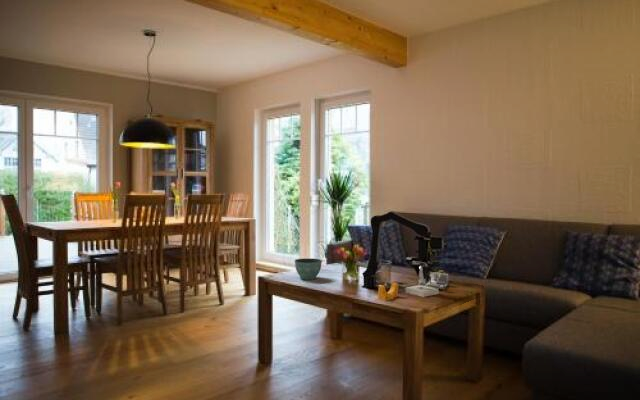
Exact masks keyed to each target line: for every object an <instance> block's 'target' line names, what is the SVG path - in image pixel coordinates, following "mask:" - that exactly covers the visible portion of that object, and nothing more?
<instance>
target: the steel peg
mask: <svg viewBox="0 0 640 400" xmlns="http://www.w3.org/2000/svg"><path fill="white" fill-rule="evenodd" d="M423 266H424V265H423V264H422V265H420V266H419V278H418V285H421V286H425V285H426V284H427V283H426V282H427V281H426V279H424V275H423Z"/></svg>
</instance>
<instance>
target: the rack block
mask: <svg viewBox="0 0 640 400" xmlns="http://www.w3.org/2000/svg"><path fill="white" fill-rule="evenodd" d="M405 293H407V294H411V295H415V296H419V297H422V298H425V297H429V296H435V295H439V289H438V288H432V287H428V286H421V285H419V284H418V285H417V286H412V287H406V291H405Z"/></svg>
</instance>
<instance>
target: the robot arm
mask: <svg viewBox="0 0 640 400" xmlns="http://www.w3.org/2000/svg"><path fill="white" fill-rule="evenodd" d="M390 220H392V221H394V222H396V223H399V224H400V225H403V226H404V227H407V228H409V229H411V230H412V231H413V232H414V233H416V236H415V237H414V238H413V240H414V241H415V240H416V241H417V249H416V250H415V253H416V254H417V255H416V256H408V257H407V256H406V259H405V263H408V264H411V266H412V268H413V269H414V271H415V273H416V276H417V278H418V279H419V266H420V265H423V264H425V266H423V275H424V279H426V278H427V275H428V273H429V270H430V269H431V268H432V269H433V268H434V269H435V268H440V267H441V262H440V261H439V260H436V256H435V255H433V254H430V251H429V247H430V248H431V249H435V250H441V251H443V248H444V243H443V241H444V237H443V236H434V235H433V234H432V232H431V228H430V226H429V225H428V224H424V223H422V222H418V221H414V220H411V219H409V218H407V217H405V216H403V215H401V214H399V213H396V212H395V211H393V210H392V211H389V212H388V213H385V214H381V215H380V214H378V215H374V216H372V217H371V218H370V228H371V230H372V232H371V246H370V256H369V259H368V263H367V266H366V269H365V270H364V271H363V272H362V277H363V284H362V285H361V288H365V289H369V290H371V289H376V288H378V287H379V286H377V276H376V275H377V273H378V272H380V270H381V269H382V263H383V262H382V260H380V259H379V254H380V253H379V252H380V244H381V242H380V241H381V233H382V229H383V227H384V223H386V222H388V221H390ZM425 238H427V239H425ZM429 241H430V242H429Z"/></svg>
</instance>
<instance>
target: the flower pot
mask: <svg viewBox="0 0 640 400" xmlns="http://www.w3.org/2000/svg"><path fill="white" fill-rule="evenodd" d="M322 262H323V260H322V259H319V258H296V259H295V260H294V265H295V271H296V272H297V275H298V276H299V278H300V279H301V280H306V281H307V280H308V281H311V280H315V279H317V277H318V275H319V273H320V272H321V269H322V264H323V263H322Z"/></svg>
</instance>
